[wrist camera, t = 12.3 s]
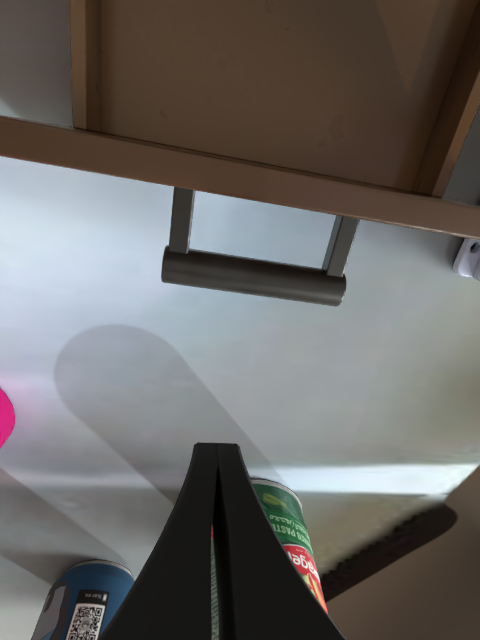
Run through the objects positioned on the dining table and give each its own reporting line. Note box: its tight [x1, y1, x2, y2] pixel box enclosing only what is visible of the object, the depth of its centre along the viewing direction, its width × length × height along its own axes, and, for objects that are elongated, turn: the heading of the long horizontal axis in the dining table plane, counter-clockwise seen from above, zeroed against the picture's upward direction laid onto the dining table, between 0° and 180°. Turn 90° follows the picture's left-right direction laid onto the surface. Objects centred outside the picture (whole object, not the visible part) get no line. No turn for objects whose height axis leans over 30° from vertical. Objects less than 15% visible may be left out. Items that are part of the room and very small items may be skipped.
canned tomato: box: [211, 479, 328, 640], centre depth 22 cm, size 8×8×11 cm
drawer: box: [0, 0, 480, 306], centre depth 10 cm, size 17×17×8 cm
